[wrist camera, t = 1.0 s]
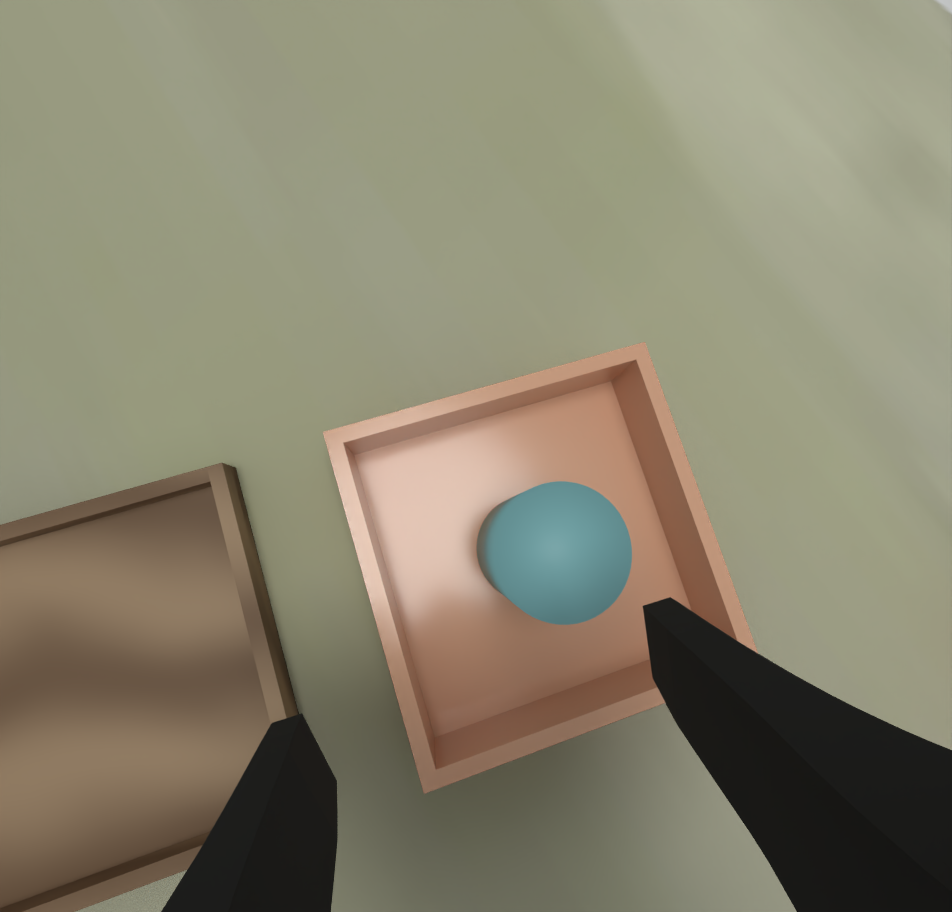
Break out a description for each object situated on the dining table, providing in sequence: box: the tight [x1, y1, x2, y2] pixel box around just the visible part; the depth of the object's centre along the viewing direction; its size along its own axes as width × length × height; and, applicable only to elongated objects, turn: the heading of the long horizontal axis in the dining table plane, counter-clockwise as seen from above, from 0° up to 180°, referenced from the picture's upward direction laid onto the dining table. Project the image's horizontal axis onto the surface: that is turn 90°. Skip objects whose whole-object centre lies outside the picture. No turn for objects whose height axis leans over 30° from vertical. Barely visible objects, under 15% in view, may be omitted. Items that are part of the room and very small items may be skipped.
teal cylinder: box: [477, 481, 632, 625], centre depth 20 cm, size 4×4×6 cm
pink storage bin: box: [323, 342, 758, 794], centre depth 21 cm, size 13×13×4 cm
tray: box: [0, 463, 298, 912], centre depth 20 cm, size 14×14×2 cm
